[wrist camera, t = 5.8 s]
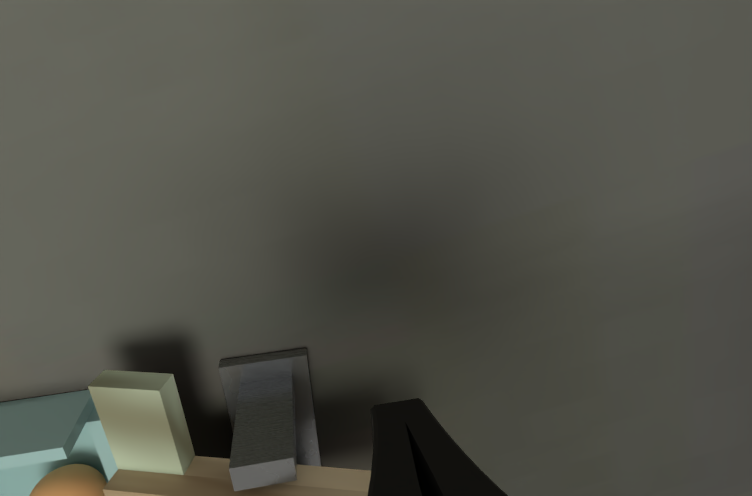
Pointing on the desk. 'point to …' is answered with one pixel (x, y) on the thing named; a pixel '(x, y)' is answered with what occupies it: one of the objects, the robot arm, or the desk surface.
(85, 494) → the ball
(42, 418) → the dish
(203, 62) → the desk surface
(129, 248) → the desk surface
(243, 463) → the stand
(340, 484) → the beige tray
